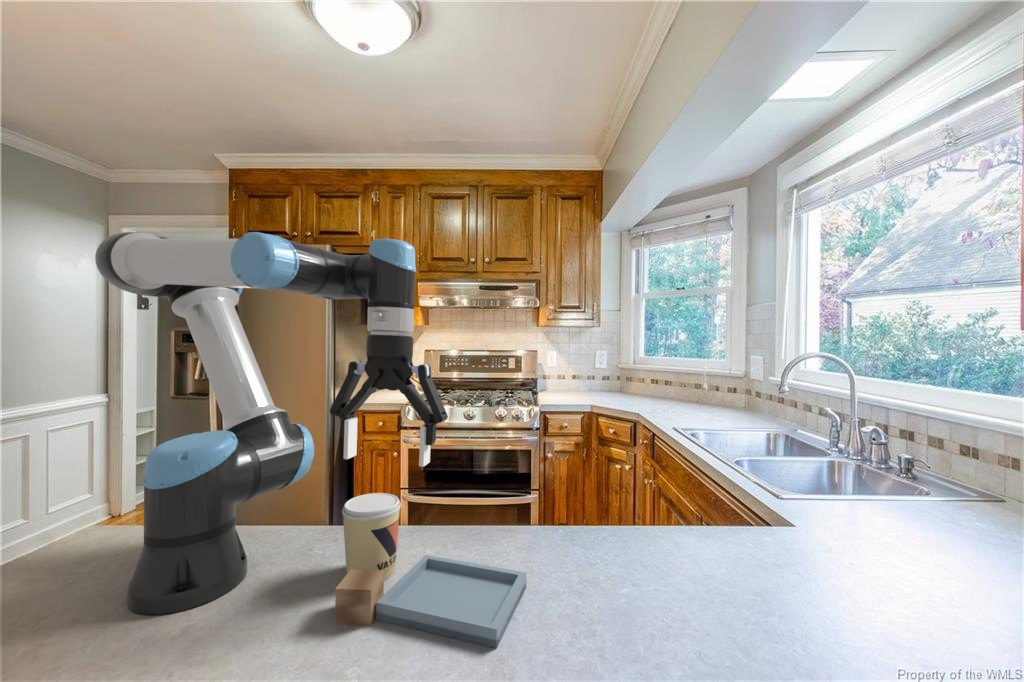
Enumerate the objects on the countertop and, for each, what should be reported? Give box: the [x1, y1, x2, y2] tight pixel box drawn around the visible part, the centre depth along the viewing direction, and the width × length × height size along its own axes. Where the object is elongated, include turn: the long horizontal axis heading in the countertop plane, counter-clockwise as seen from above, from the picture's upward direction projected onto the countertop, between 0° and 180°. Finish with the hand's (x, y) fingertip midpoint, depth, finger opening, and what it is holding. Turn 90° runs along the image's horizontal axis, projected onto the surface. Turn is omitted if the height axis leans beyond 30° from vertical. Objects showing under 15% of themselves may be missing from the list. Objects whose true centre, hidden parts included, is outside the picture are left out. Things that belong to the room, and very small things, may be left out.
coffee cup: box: [341, 492, 402, 582], centre depth 71 cm, size 9×9×12 cm
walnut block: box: [334, 569, 385, 627], centre depth 61 cm, size 5×5×5 cm
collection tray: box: [375, 554, 527, 649], centre depth 63 cm, size 18×14×2 cm
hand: (386, 460), depth 71 cm, fingers open, 13 cm apart
